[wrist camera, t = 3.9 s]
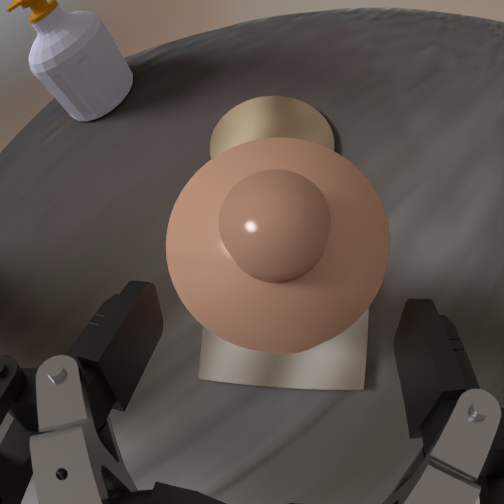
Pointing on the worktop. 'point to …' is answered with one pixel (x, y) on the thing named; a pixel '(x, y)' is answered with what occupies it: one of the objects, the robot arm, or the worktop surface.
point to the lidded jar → (278, 245)
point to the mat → (270, 123)
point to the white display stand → (290, 362)
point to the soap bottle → (76, 60)
